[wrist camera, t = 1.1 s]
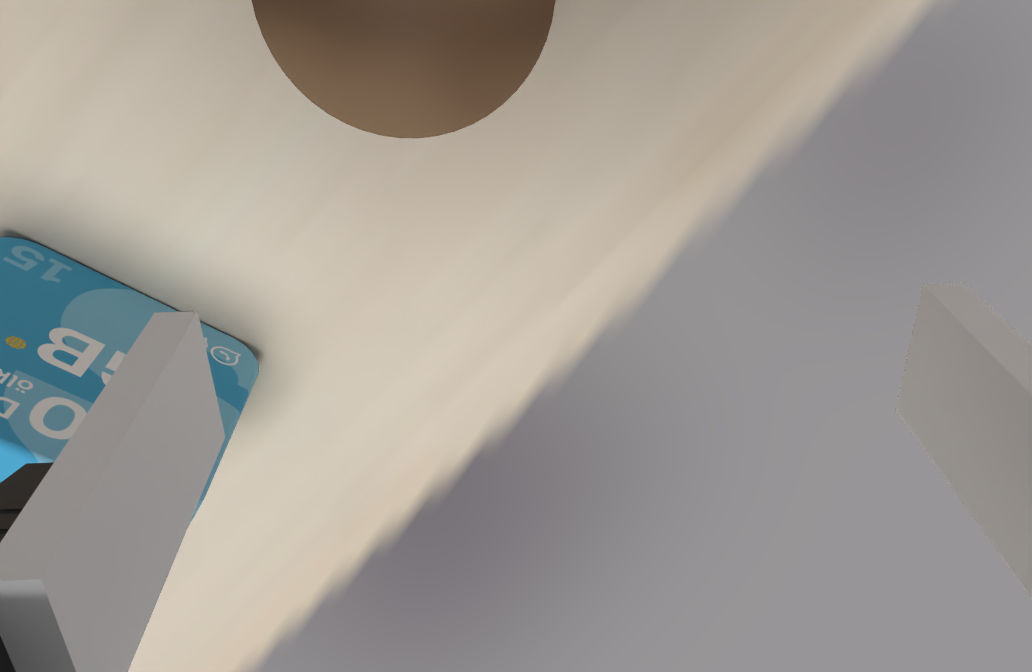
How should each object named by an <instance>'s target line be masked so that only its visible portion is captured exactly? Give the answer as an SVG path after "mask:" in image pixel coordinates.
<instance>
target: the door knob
mask: <svg viewBox="0 0 1032 672" xmlns="http://www.w3.org/2000/svg"><path fill="white" fill-rule="evenodd" d="M252 3H253V7H254V11H255V15H256V19H257V21H258V24H259V27H260V30H261V32H262V35H263V37H264V39H265V41H266V43H267V45H268V47H269V49H270V51H271V53H272V55H273V57H274V58H275V60H276V61H277V63H278V64H279V66H280V67H281V69H282V70H283V72H284V73H285V74H286V76H287V77H288V78H289V79H290V80H291V81H292V83H293V84H294V85H295V86H296V87H297V88H298V89H299V90H300V91H301V92H302V93H303V94H304V95H305V96H306V97H307V98H308V99H309V100H311V101H312V102H313V103H314V104H316V105H317V106H318V107H320V108H321V109H322V110H324V111H325V112H327V113H328V114H330V115H331V116H333V117H335V118H337V119H339V120H340V121H342V122H344V123H346V124H348V125H351V126H353V127H356V128H358V129H361V130H363V131H367V132H371V133H374V134H378V135H382V136H389V137H397V138H424V137H432V136H438V135H442V134H446V133H450V132H454V131H457V130H459V129H462V128H464V127H467V126H469V125H472V124H474V123H475V122H477V121H479V120H481V119H482V118H484V117H486V116H488V115H489V114H490V113H492V112H493V111H494V110H496V109H497V108H498V107H500V106H501V105H502V104H504V103H505V102H506V101H507V100H508V99H509V98H510V97H511V96H512V95H513V94H514V93H515V92H516V91H517V89H518V88H519V87H520V86H521V84H522V83H523V82H524V81H525V79H526V78H527V77H528V75H529V74H530V72H531V70H532V69H533V67H534V65H535V64H536V62H537V60H538V58H539V56H540V54H541V51H542V49H543V47H544V45H545V42H546V40H547V36H548V33H549V29H550V26H551V22H552V17H553V11H554V5H555V0H252Z"/></svg>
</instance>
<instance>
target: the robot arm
mask: <svg viewBox="0 0 1032 672" xmlns="http://www.w3.org/2000/svg"><path fill="white" fill-rule="evenodd" d="M896 412H897V413H898V415H899V416H900V417H901V419H902V420H903V422H904V423H905V424H906V426H907V427H908V428H909V430H910V431H911V433H912V434H913V435H914V437H915V438H916V439H917V441H918V442H919V444H920V445H921V446H922V448H923V449H924V451H925V452H926V453H927V455H928V456H929V458H930V459H931V460H932V462H933V463H934V465H935V466H936V467H937V468H938V470H939V471H940V473H941V474H942V475H943V477H944V478H945V480H946V481H947V483H948V484H949V485H950V486H951V488H952V489H953V491H954V492H955V494H956V495H957V496H958V498H959V499H960V501H961V502H962V503H963V505H964V506H965V507H966V509H967V510H968V511H969V513H970V514H971V516H972V517H973V519H974V520H975V521H976V523H977V524H978V526H979V527H980V528H981V529H982V531H983V532H984V534H985V535H986V537H987V538H988V539H989V541H990V542H991V544H992V545H993V546H994V548H995V549H996V551H997V552H998V553H999V554H1000V556H1001V558H1002V559H1003V560H1004V562H1005V563H1006V564H1007V566H1008V567H1009V569H1010V570H1011V571H1012V573H1013V574H1014V576H1015V577H1016V578H1017V580H1018V581H1019V582H1020V584H1021V585H1022V587H1023V588H1024V589H1025V591H1026V592H1027V593H1028V595H1029V596H1030V598H1031V599H1032V345H1031V344H1030V343H1029V342H1028V341H1027V340H1026V339H1025V338H1024V337H1022V336H1021V335H1020V334H1019V333H1018V332H1017V331H1016V330H1015V329H1014V328H1013V327H1012V326H1011V325H1009V323H1007V322H1006V321H1005V320H1004V319H1003V318H1002V317H1001V316H1000V315H999V314H998V313H997V312H996V311H995V310H993V309H992V308H991V307H990V306H989V305H988V304H987V303H986V302H985V301H984V300H983V299H982V298H981V297H979V296H978V295H977V294H976V293H975V292H974V291H973V290H972V289H971V288H970V287H968V285H966V284H965V283H944V284H923V287H922V291H921V296H920V301H919V305H918V309H917V314H916V319H915V323H914V328H913V332H912V337H911V341H910V346H909V351H908V355H907V359H906V365H905V369H904V373H903V378H902V383H901V387H900V391H899V396H898V400H897V405H896ZM224 439H225V433H224V428H223V424H222V419H221V415H220V410H219V406H218V401H217V397H216V392H215V388H214V383H213V379H212V374H211V369H210V365H209V360H208V356H207V351H206V347H205V342H204V338H203V333H202V329H201V324H200V320H199V315H198V311H188V312H161V313H154V314H153V316H152V317H151V319H150V320H149V322H148V323H147V325H146V326H145V328H144V329H143V331H142V332H141V334H140V335H139V337H138V338H137V340H136V341H135V343H134V344H133V346H132V347H131V349H130V350H129V352H128V353H127V355H126V356H125V357H124V359H123V360H122V362H121V363H120V365H119V366H118V368H117V369H116V371H115V372H114V374H113V375H112V377H111V378H110V380H109V381H108V383H107V384H106V386H105V387H104V389H103V390H102V392H101V393H100V395H99V396H98V398H97V399H96V401H95V402H94V404H93V405H92V407H91V408H90V410H89V411H88V413H87V414H86V416H85V417H84V419H83V420H82V422H81V423H80V425H79V426H78V428H77V429H76V431H75V432H74V434H73V435H72V436H71V438H70V439H69V441H68V442H67V444H66V445H65V447H64V448H63V450H62V451H61V453H60V454H59V456H58V457H57V459H56V460H55V462H50V463H26V464H25V465H24V466H22V467H21V468H20V469H18V470H17V471H15V472H14V473H13V474H11V475H10V476H9V477H7V478H6V479H5V480H3V481H2V482H1V483H0V672H128V670H129V667H130V665H131V662H132V660H133V658H134V655H135V653H136V650H137V648H138V646H139V643H140V641H141V638H142V636H143V634H144V631H145V629H146V626H147V624H148V622H149V619H150V617H151V614H152V612H153V610H154V607H155V605H156V602H157V600H158V598H159V595H160V593H161V590H162V588H163V586H164V583H165V581H166V578H167V576H168V574H169V571H170V569H171V566H172V564H173V562H174V559H175V557H176V554H177V552H178V550H179V547H180V545H181V542H182V540H183V538H184V535H185V533H186V530H187V528H188V526H189V523H190V521H191V518H192V516H193V514H194V511H195V509H196V506H197V504H198V502H199V499H200V497H201V494H202V492H203V490H204V487H205V485H206V482H207V480H208V478H209V475H210V473H211V470H212V468H213V466H214V463H215V461H216V458H217V456H218V454H219V451H220V449H221V446H222V444H223V442H224Z"/></svg>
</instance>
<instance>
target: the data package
mask: <svg viewBox="0 0 1032 672" xmlns="http://www.w3.org/2000/svg"><path fill="white" fill-rule="evenodd" d="M161 312H178V311H176V310H174V309H172V308H170V307H168V306H166V305H164V304H162V303H160V302H158V301H156V300H154V299H151V298H149V297H147V296H145V295H143V294H141V293H139V292H137V291H135V290H133V289H131V288H129V287H127V286H125V285H122V284H120V283H118V282H116V281H114V280H112V279H110V278H108V277H106V276H104V275H102V274H100V273H98V272H95V271H93V270H91V269H89V268H87V267H85V266H83V265H81V264H79V263H77V262H75V261H73V260H71V259H69V258H66V257H64V256H62V255H60V254H58V253H56V252H54V251H52V250H50V249H48V248H46V247H44V246H41V245H39V244H37V243H34V242H31V241H28V240H24V239H20V238H13V237H0V483H1V482H2V481H3V480H5V479H6V478H7V477H9V476H10V475H11V474H13V473H14V472H15V471H17V470H18V469H20V468H21V467H22V466H24V465H25V464H26V463H50V462H55V460H56V459H57V457H58V456H59V454H60V453H61V451H62V450H63V448H64V447H65V445H66V444H67V442H68V441H69V439H70V438H71V436H72V435H73V434H74V432H75V431H76V429H77V428H78V426H79V425H80V423H81V422H82V420H83V419H84V417H85V416H86V414H87V413H88V411H89V410H90V408H91V407H92V405H93V404H94V402H95V401H96V399H97V398H98V396H99V395H100V393H101V392H102V390H103V389H104V387H105V386H106V384H107V383H108V381H109V380H110V378H111V377H112V375H113V374H114V372H115V371H116V369H117V368H118V366H119V365H120V363H121V362H122V360H123V359H124V357H125V356H126V355H127V353H128V352H129V350H130V349H131V347H132V346H133V344H134V343H135V341H136V340H137V338H138V337H139V335H140V334H141V332H142V331H143V329H144V328H145V326H146V325H147V323H148V322H149V320H150V319H151V317H152V316H153V314H154V313H161ZM200 324H201V329H202V333H203V338H204V342H205V347H206V351H207V356H208V360H209V365H210V369H211V374H212V379H213V383H214V388H215V392H216V397H217V401H218V406H219V410H220V415H221V419H222V424H223V428H224V433H225V439H224V442H223V444H222V446H221V449H220V451H219V454H218V456H217V458H216V461H215V463H214V466H213V468H212V470H211V473H210V475H209V478H208V480H207V482H206V485H205V487H204V490H203V492H202V494H201V497H200V499H199V502H198V504H197V506H196V509H195V511H194V514H193V516H192V518H191V521H192V519H193V517H194V515H195V514H196V512H197V510H198V508H199V507H200V505H201V503H202V501H203V500H204V498H205V495H206V493H207V491H208V488H209V486H210V484H211V481H212V479H213V477H214V475H215V472H216V470H217V468H218V465H219V463H220V461H221V458H222V456H223V454H224V451H225V449H226V447H227V445H228V442H229V440H230V438H231V435H232V433H233V431H234V428H235V426H236V424H237V421H238V419H239V417H240V414H241V412H242V410H243V408H244V405H245V403H246V401H247V398H248V396H249V394H250V391H251V389H252V387H253V384H254V382H255V380H256V377H257V375H258V372H259V366H258V362H257V359H256V358H255V356H254V354H253V353H252V352H251V351H250V350H249V349H248V348H247V347H246V346H245V345H244V344H242V343H241V342H239V341H238V340H236V339H234V338H232V337H230V336H228V335H226V334H224V333H222V332H220V331H218V330H216V329H214V328H212V327H210V326H207V325H205V324H203V323H201V322H200ZM191 521H190V522H191ZM189 524H190V523H189Z"/></svg>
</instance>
